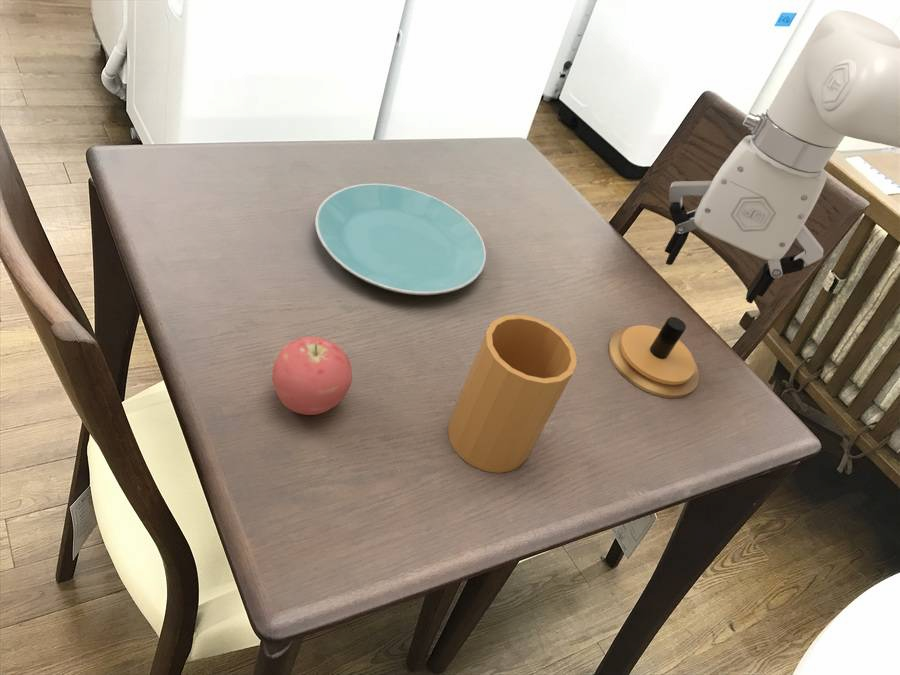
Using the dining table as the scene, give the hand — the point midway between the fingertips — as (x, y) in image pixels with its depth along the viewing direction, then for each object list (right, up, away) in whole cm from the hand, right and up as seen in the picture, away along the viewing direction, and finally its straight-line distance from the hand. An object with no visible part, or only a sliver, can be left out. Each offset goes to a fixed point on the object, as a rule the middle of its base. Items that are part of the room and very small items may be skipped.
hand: (709, 277), depth 87 cm
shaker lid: (-4, -9, +9) cm, 13 cm away
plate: (-36, +4, +12) cm, 38 cm away
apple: (-44, -13, -10) cm, 47 cm away
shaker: (-25, -17, -7) cm, 31 cm away
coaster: (-4, -10, +10) cm, 14 cm away
